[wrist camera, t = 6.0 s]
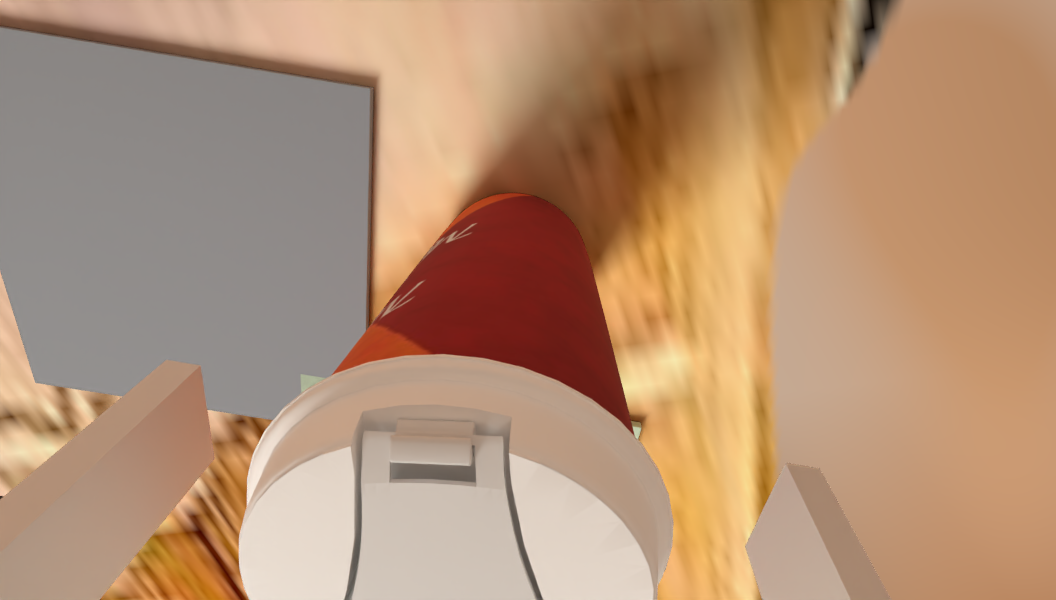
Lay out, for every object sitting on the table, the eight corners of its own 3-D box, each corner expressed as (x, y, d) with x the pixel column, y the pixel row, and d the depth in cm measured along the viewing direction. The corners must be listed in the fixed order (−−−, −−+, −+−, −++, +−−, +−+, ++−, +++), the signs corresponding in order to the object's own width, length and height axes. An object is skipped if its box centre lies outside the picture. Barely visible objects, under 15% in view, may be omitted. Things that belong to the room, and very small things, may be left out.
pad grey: (42, 378, 27) (35, 382, 27) (-69, 14, 20) (-81, 14, 20) (366, 428, 27) (363, 434, 27) (373, 87, 20) (370, 88, 20)
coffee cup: (406, 160, 21) (138, 398, 8) (622, 163, 21) (725, 421, 8) (424, 347, 25) (264, 721, 12) (607, 353, 25) (658, 748, 11)
